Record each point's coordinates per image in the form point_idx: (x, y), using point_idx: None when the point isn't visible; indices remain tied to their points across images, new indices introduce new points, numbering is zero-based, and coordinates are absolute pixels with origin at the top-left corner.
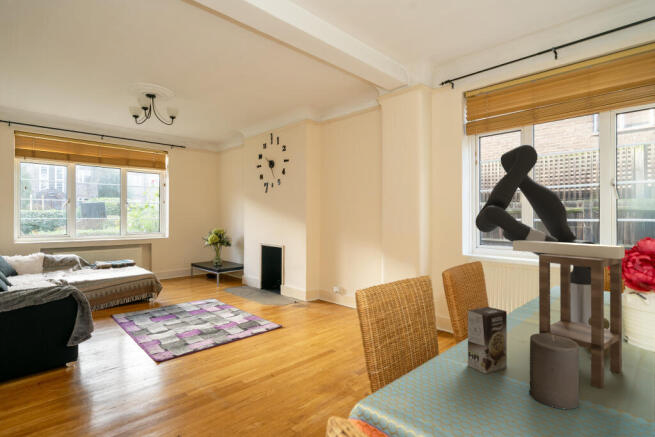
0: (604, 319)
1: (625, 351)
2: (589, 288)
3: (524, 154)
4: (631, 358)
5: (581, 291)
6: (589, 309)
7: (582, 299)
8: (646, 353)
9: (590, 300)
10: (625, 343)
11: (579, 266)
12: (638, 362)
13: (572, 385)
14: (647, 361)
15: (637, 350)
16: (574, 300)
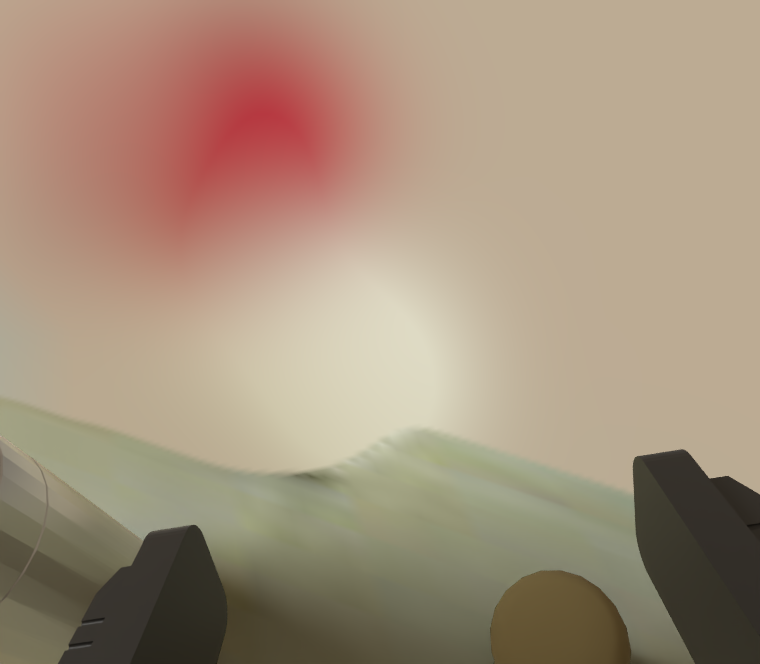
0: (591, 602)
1: (471, 529)
2: (23, 490)
3: None
4: (572, 539)
5: (21, 562)
6: (120, 555)
7: (67, 577)
8: (463, 448)
9: (83, 523)
10: (344, 485)
11: (221, 608)
12: (618, 528)
13: None
14: (580, 483)
15: (434, 470)
16: (39, 636)
